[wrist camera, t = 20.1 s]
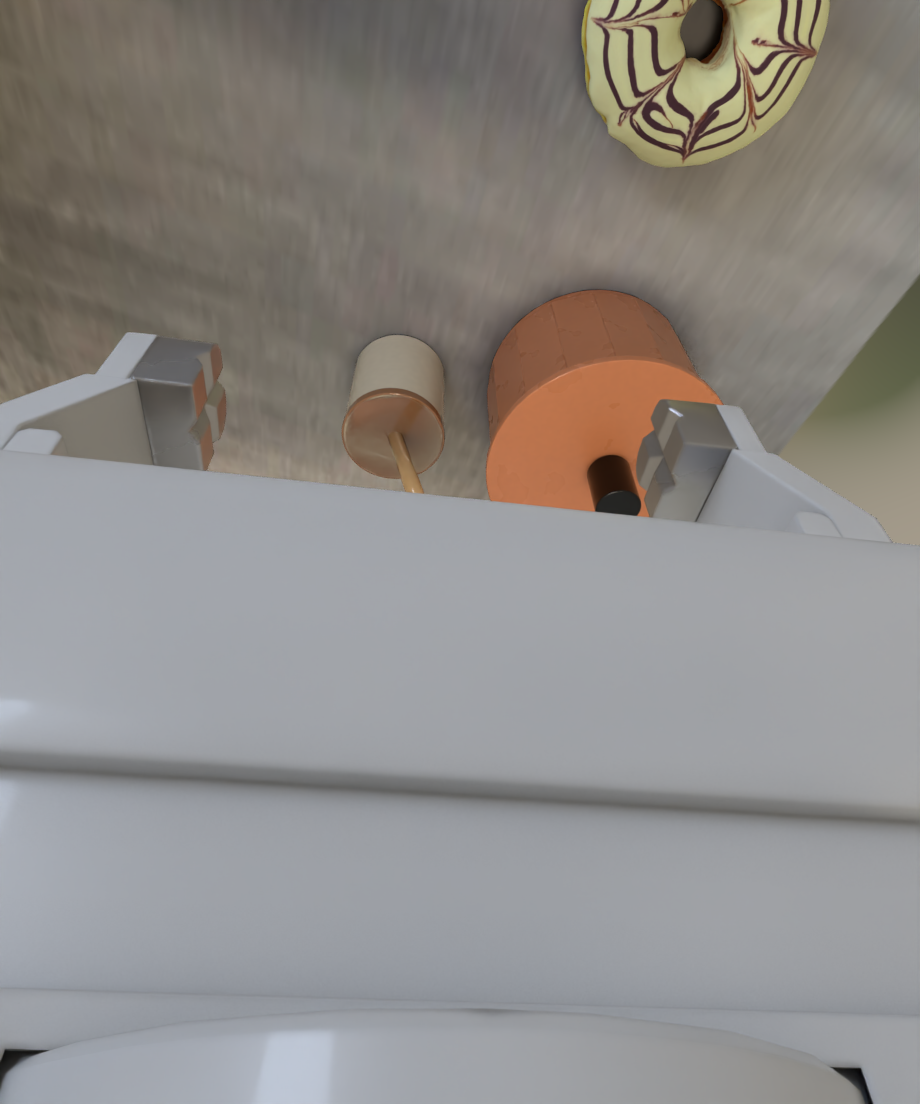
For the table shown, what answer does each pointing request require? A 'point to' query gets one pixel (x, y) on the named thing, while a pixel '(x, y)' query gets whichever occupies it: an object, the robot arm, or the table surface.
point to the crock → (396, 410)
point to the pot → (576, 342)
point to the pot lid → (585, 434)
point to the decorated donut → (697, 74)
